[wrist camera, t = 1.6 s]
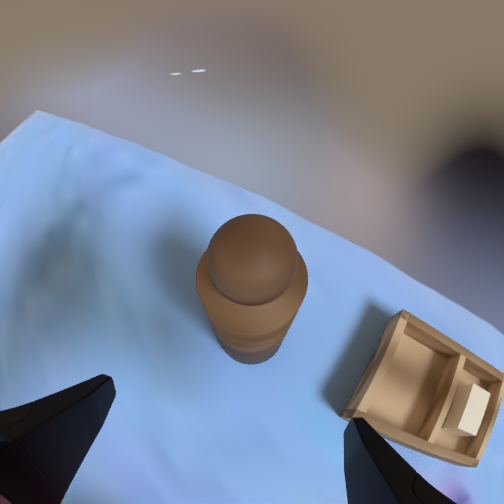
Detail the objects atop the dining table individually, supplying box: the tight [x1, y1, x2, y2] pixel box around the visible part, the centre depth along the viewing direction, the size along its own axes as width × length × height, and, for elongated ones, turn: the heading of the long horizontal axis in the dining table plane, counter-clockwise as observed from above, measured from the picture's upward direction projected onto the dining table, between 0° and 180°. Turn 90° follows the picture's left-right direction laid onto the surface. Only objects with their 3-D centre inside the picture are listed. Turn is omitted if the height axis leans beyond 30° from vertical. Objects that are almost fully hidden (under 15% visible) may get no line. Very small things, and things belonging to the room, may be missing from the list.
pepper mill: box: [196, 214, 308, 364], centre depth 16 cm, size 5×5×14 cm
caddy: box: [340, 309, 504, 467], centre depth 17 cm, size 10×16×3 cm, turn 56°
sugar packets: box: [442, 383, 490, 436], centre depth 15 cm, size 4×3×2 cm
